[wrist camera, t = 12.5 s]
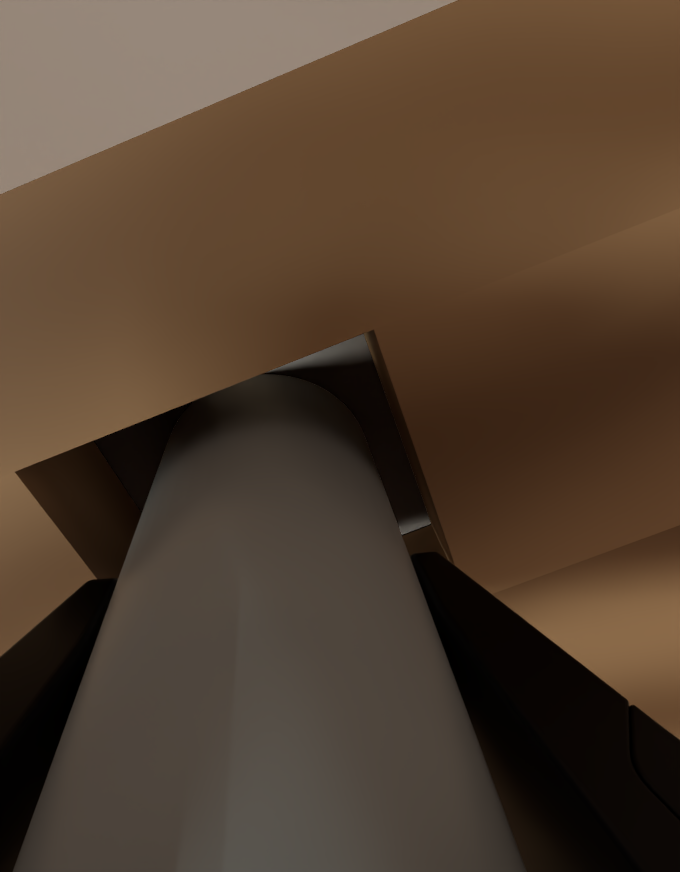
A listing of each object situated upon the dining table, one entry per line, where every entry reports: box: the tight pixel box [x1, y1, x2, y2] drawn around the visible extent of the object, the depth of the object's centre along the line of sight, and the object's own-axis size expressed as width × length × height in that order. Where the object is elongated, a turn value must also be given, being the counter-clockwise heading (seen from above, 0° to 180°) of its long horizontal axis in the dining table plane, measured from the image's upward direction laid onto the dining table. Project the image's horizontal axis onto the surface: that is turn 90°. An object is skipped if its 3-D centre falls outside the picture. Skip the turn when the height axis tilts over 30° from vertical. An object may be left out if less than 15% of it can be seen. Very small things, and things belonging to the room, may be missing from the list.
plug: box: [13, 374, 527, 872], centre depth 7 cm, size 5×5×10 cm
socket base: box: [0, 0, 680, 739], centre depth 12 cm, size 20×16×2 cm
